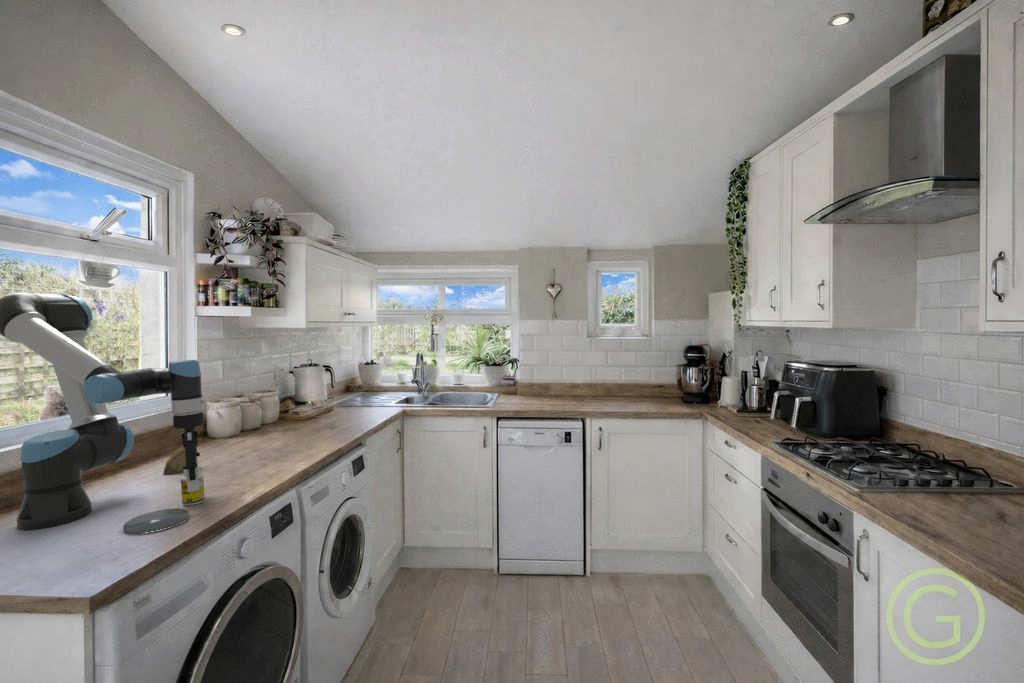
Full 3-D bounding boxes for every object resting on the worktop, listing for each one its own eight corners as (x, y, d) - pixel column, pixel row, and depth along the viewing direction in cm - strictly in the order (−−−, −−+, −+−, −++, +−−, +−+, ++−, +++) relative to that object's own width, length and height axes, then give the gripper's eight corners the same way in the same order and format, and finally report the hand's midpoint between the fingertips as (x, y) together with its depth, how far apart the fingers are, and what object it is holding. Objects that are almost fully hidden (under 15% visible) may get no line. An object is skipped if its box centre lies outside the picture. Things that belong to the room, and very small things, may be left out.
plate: (120, 539, 120) (119, 534, 120) (127, 520, 132) (126, 516, 132) (188, 525, 128) (188, 520, 127) (189, 508, 139) (189, 504, 139)
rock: (155, 471, 170) (185, 465, 172) (158, 449, 175) (188, 443, 176) (171, 481, 179) (199, 475, 180) (173, 460, 183) (201, 454, 185)
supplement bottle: (178, 504, 143) (176, 469, 143) (198, 498, 148) (196, 464, 147) (188, 507, 140) (186, 472, 140) (208, 501, 145) (206, 467, 145)
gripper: (203, 416, 134) (209, 493, 135) (203, 406, 155) (208, 472, 156) (170, 421, 130) (176, 499, 131) (174, 409, 151) (179, 477, 152)
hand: (193, 484), depth 144 cm, fingers open, 13 cm apart
